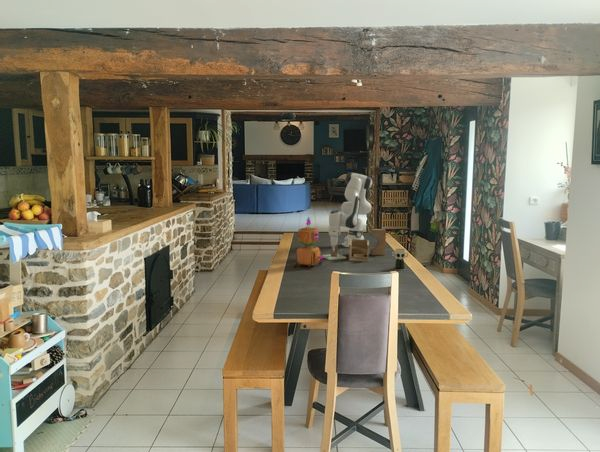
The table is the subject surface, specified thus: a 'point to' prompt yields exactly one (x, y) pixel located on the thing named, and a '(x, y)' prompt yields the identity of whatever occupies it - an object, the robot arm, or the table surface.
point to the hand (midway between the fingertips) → (334, 250)
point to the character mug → (400, 257)
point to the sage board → (334, 257)
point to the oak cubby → (358, 250)
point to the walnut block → (334, 253)
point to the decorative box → (308, 246)
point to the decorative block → (379, 242)
